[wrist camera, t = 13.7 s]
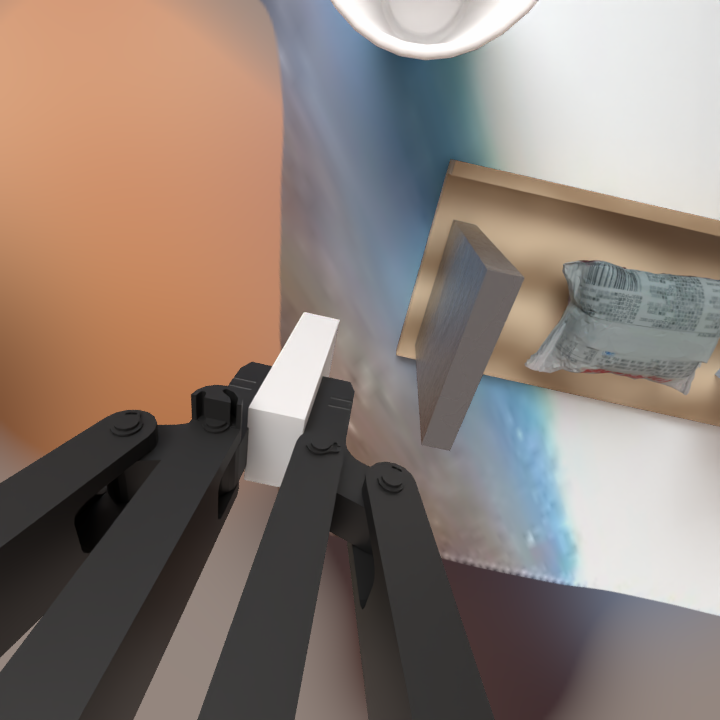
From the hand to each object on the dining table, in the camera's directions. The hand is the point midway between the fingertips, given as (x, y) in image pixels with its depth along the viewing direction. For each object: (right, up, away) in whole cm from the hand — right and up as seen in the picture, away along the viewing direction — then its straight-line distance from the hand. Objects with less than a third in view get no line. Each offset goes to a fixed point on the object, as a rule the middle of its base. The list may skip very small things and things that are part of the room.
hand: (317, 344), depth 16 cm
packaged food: (+18, +3, +15) cm, 23 cm away
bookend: (+8, +5, +13) cm, 16 cm away
